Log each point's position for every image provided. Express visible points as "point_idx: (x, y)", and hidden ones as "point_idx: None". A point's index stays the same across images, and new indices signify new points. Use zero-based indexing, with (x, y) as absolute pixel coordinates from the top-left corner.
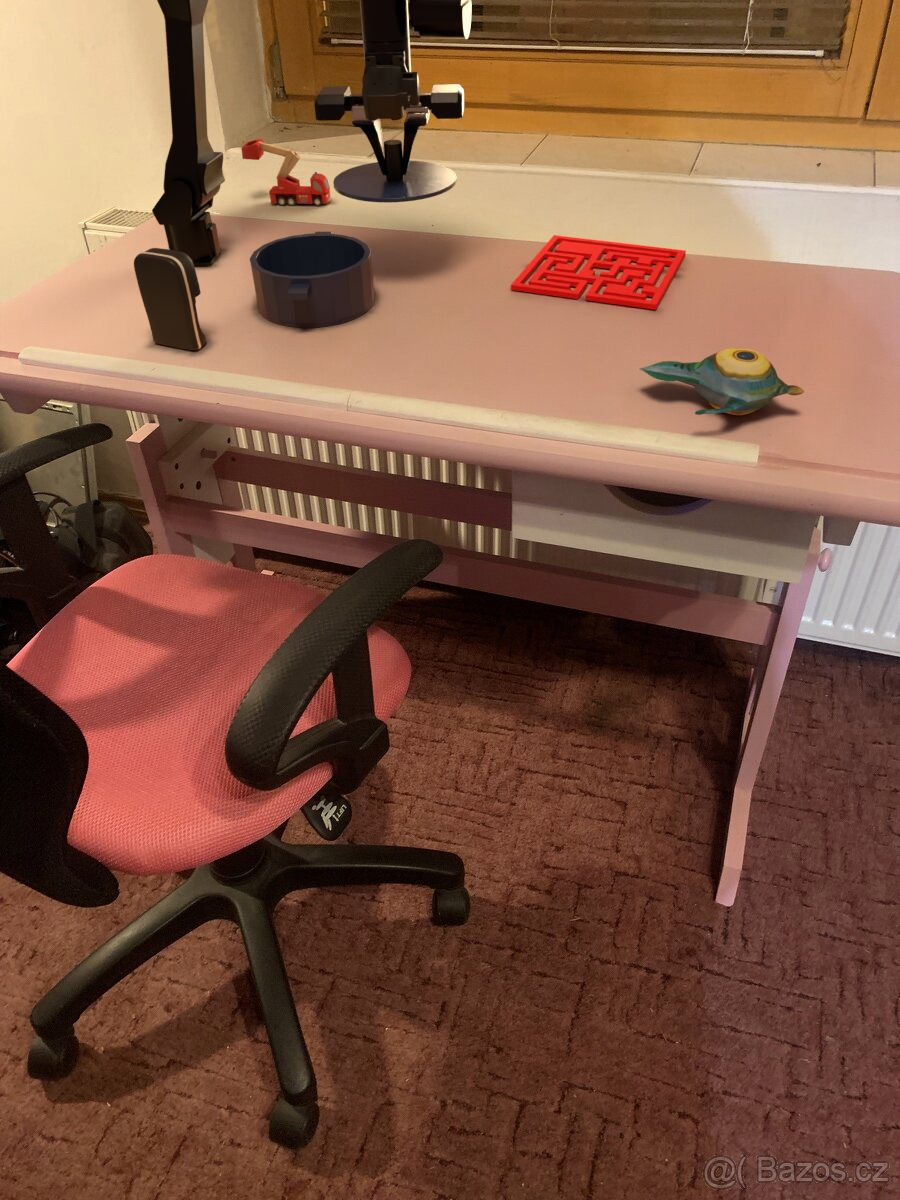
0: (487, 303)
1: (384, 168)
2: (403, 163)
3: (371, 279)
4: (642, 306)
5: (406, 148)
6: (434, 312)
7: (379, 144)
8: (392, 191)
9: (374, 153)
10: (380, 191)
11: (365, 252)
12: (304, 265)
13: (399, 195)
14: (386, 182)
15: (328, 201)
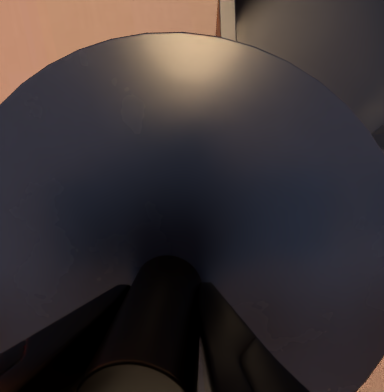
0: (21, 75)
1: (200, 290)
2: (108, 302)
3: (217, 33)
4: None
5: (44, 343)
6: (101, 26)
7: (214, 362)
8: (146, 129)
9: (249, 328)
10: (196, 130)
11: (233, 29)
12: (376, 138)
13: (108, 80)
14: (192, 240)
15: None
